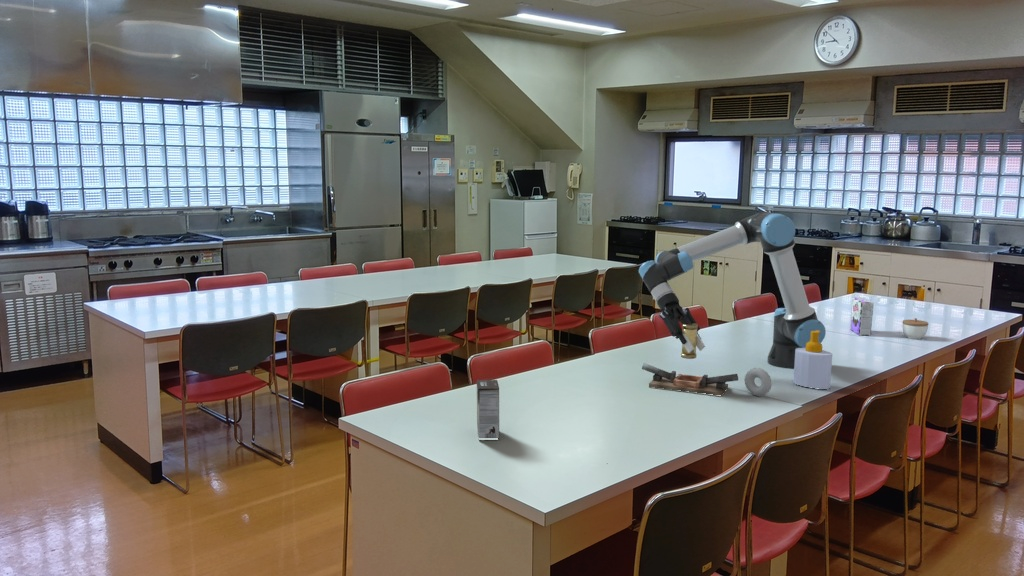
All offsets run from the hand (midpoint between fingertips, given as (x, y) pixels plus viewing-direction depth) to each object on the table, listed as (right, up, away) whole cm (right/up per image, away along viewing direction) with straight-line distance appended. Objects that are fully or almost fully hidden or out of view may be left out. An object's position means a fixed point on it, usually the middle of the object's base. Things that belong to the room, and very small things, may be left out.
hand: (696, 349), depth 267 cm
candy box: (+103, 0, +96) cm, 141 cm away
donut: (+20, -16, -4) cm, 26 cm away
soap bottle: (+44, -14, +7) cm, 47 cm away
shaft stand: (-2, -14, +5) cm, 15 cm away
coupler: (-2, -3, +4) cm, 5 cm away
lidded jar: (+123, -2, +85) cm, 150 cm away
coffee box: (-73, -22, -43) cm, 88 cm away
